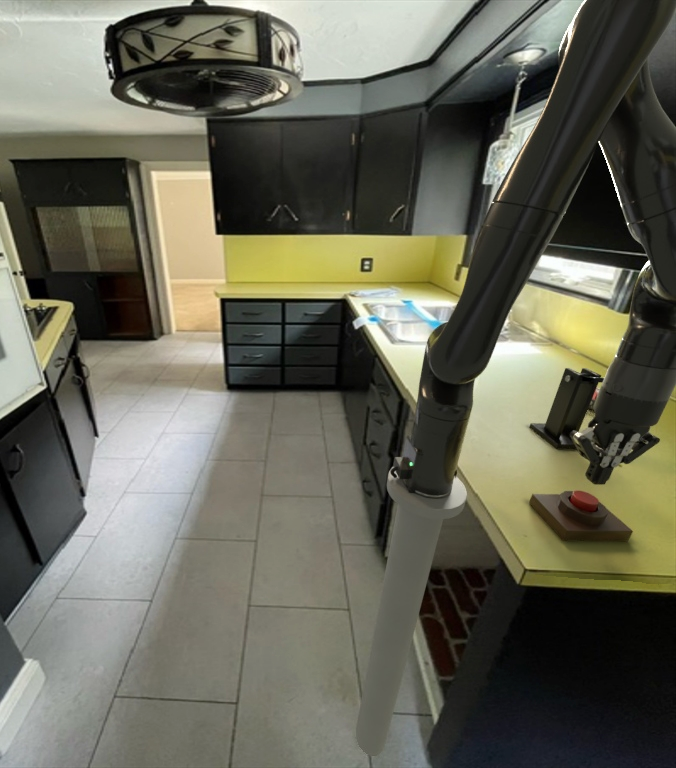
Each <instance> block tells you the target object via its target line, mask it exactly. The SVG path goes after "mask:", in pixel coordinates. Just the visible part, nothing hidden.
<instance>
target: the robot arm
mask: <svg viewBox="0 0 676 768" xmlns="http://www.w3.org/2000/svg"><path fill="white" fill-rule="evenodd" d="M675 14H676V0H584V1H583V2H582V3H581V4H580V6H579V8H578V10H577V12H576V13H575V15H574V17H573V18H572V20H571V23H570V24H569V25H568V28H567V30H566V31H565V34H564V35H563V38H562V41H561V43H560V46H559V49H558V50H559V51H558V55H557V60H558V61H557V64H558V71H557V74H556V76H555V78H554V79H555V80H554V82H553V85H552V86H551V90H550V92H549V94H548V97H547V99H546V102H545V104H544V106H543V109H542V111H541V113H540V115H539V116H538V119H537V121H536V123H535V124H534V127H533V128H532V129H531V132H530V133H529V134H528V137H527V138H526V140H525V141H524V143H523V145H522V146H521V148H520V149H519V151H518V152H517V154H516V156H515V158H514V160H513V161H512V163H511V165H510V166H509V168H508V170H507V172H506V174H505V175H504V177H503V179H502V181H501V183H500V185H499V187H498V189H497V191H496V193H495V195H494V196H493V198H492V202H491V203H490V206H489V208H488V210H487V212H486V213H485V217H484V219H483V221H482V222H481V223H482V224H481V226H480V229H479V231H478V233H477V236H476V239H475V243H474V245H473V249H472V252H471V256H470V260H469V264H468V267H467V272H466V276H465V281H464V285H463V287H462V291H461V293H460V296H459V298H458V301H457V302H456V305H455V307H454V310H453V311H452V313H451V315H450V316H449V319H448V321H446V322H442V323H441V324H439V325H438V326H437V327H436V328H434V329H433V330H432V331H431V333H430V334H429V336H428V338H427V341H426V345H425V348H424V353H423V360H422V365H421V371H420V376H419V383H418V392H417V400H416V407H415V410H414V411H415V412H414V417H413V421H412V427H411V433H410V435H407V436H406V437H405V440H404V441H405V442H404V448H403V453H402V456H394V459H393V465H392V467H394V468H392V467H391V468H392V469H391V468H390V470H391V471H390V470H389V471H390V473H391V475H392V476H393V477H394V478H396V477H397V475H398V477H399V479H402V480H403V483H404V484H405V486H406V488H407V490H408V492H409V493H415V494H418V495H420V496H423V497H426V498H432V499H440V498H444V497H447V496H448V495H449V494H450V493H451V490H452V484H453V480H454V476H455V479H456V477H457V476H458V475H457V474H458V470H457V469H458V468H457V467H458V464H459V461H460V457H461V452H462V449H463V445H464V441H465V437H466V433H467V430H468V426H469V422H470V418H471V414H472V411H473V407H474V388H475V382H476V379H477V378H478V377H480V376H481V375H482V373H483V372H484V371H485V370H486V369H487V367H488V365H489V363H490V361H491V358H492V356H493V353H494V350H495V348H496V346H497V343H498V341H499V338H500V336H501V333H502V331H503V328H504V326H505V323H506V320H507V319H508V316H509V314H510V313H511V310H512V308H513V306H514V305H515V302H516V301H517V299H518V298H519V296H520V295H521V293H522V291H523V289H524V288H525V286H526V285H527V282H528V281H529V280H530V277H531V276H532V274H533V273H534V270H535V268H536V267H537V265H538V263H539V261H540V260H541V257H542V256H543V254H544V252H545V250H546V249H547V248H548V246H549V244H550V242H551V240H552V239H553V237H554V235H555V233H556V231H557V230H558V228H559V225H560V223H561V222H562V220H563V218H564V217H563V216H565V214H566V212H567V210H568V208H569V206H570V204H571V202H572V200H573V197H574V196H575V194H576V191H577V189H578V187H579V186H580V184H581V181H582V179H583V177H584V175H585V173H586V171H587V169H588V168H589V164H590V162H591V160H592V158H593V156H594V154H595V152H596V149H597V146H598V144H599V146H600V148H601V150H602V153H603V155H604V158H605V160H606V163H607V166H608V169H609V172H610V174H611V178H612V181H613V184H614V187H615V191H616V193H617V197H618V201H619V203H620V207H621V210H622V213H623V216H624V219H625V222H626V226H627V228H628V231H629V233H630V234H631V236H632V238H633V239H634V240H635V241H637V242H638V243H639V244H641V246H642V248H643V249H644V251H645V254H646V256H647V259H648V261H647V262H646V263H645V264H644V266H643V267H642V269H641V271H640V272H639V274H638V277H637V279H636V281H635V285H634V287H633V292H632V296H631V303H630V308H629V316H628V322H627V323H628V324H627V327H626V329H625V331H624V333H623V335H622V338H621V341H620V343H619V346H618V348H617V351H616V353H615V355H614V358H613V359H612V361H611V363H610V364H609V366H608V368H607V370H606V373H605V375H604V377H603V378H604V380H603V383H601V385H600V387H599V389H600V390H599V393H598V395H597V398H596V400H595V403H594V405H593V408H594V410H593V411H594V416H593V417H592V418H591V420H589V422H588V423H587V427H586V428H584V429H582V430H581V431H579V432H577V431H572V432H571V433H570V437H571V439H572V440H573V442H574V444H575V446H576V448H577V449H576V450H577V452H578V453H579V455H580V456H581V457H582V458H584V459H585V460H587V461H588V462H589V464H588V467H587V469H586V471H585V477H586V479H587V480H588V481H589V482H590V483H591V484H593V485H595V486H596V485H597V486H599V485H600V486H605V485H606V484H607V482H608V481H609V480H610V478H611V476H612V474H613V471H614V469H615V468H617V467H618V466H619V465H620V464H624V465H629V464H631V463H632V462H634V461H635V460H637V459H638V458H639V457H641V456H642V455H644V454H645V453H647V452H648V451H649V450H650V449H652V448H653V447H655V446H656V445H658V444H659V443H660V442H661V438H659V437H657V436H656V435H654V434H652V433H651V432H650V429H651V427H654V426H656V425H657V424H658V423H659V421H660V419H661V417H662V415H663V413H664V411H665V408H666V407H667V404H668V402H669V400H670V399H671V396H672V394H673V393H674V391H675V388H676V126H675V123H673V121H672V120H671V119H670V118H669V116H668V115H667V113H666V112H665V110H664V109H663V107H662V105H661V103H660V101H659V98H658V97H657V94H656V92H655V89H654V85H653V82H652V78H651V73H650V63H649V61H650V60H649V57H650V55H651V54H652V52H653V51H654V49H655V48H656V45H657V44H658V43H659V41H660V40H661V38H662V37H663V35H664V34H665V32H666V30H667V29H668V28H669V26H670V24H671V22H672V20H673V18H674V16H675ZM395 471H396V473H397V475H396V474H395V473H394V472H395Z"/></svg>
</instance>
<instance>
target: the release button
mask: <svg viewBox="0 0 676 768" xmlns="http://www.w3.org/2000/svg"><path fill="white" fill-rule="evenodd" d="M573 491H574V492H573V494H572V496H571V498H570V503H572V504H573V505H574V506H575V507H577V508H579V509H581V510H584V511H588V512H594V511H595V510H596V508H597V506H598V504H599V502H600V500H599V498H597V497H596V496H595V495H593V494H592V493H590V492H587V491H584V490H573Z"/></svg>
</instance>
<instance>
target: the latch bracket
mask: <svg viewBox="0 0 676 768" xmlns="http://www.w3.org/2000/svg"><path fill="white" fill-rule="evenodd" d="M580 373H582V374H590V377H598V378H602V374H600V373H597V372H595V371H593V370H591V369H589V368H587V367H585V368H583V367H582V368H581V371H580V372H578V371H577V370H574V369H572V368H571V367H565V368H564V371H563V373H562V377H561V379H560V382H559V384H558V387H557V391H556V393H555V396H554V399H553V401H552V404H551V407H550V410H549V412H548V416H547V418H546V421H545V422H542V423H541V422H540V423H539V422H531V423H530V424H529V428H530V429H531V430H532V431H534V433H536V434H537V435H538V436H540V437H541V438H543V440H545V441H546V442H547V443H549V444H550V445H551V446H552V447H554V448H555V449H559V450H561V449H566V450H567V449H570V450H571V449H573V450H574V449H575V450H577V448H576V446H575V444H574V442H573V440H572V439H571V437H570V433H571V432H572V431H577V432H580V430H581V427H582V424H583V422H584V419H585V417H586V415H587V413H588V408H589V405H590V403H591V400H592V398H593V395H594V393H595V390H596V388H598V386H599V383H600V382H590V384H581V381H582V379H583V376H584V375H582V374H580Z"/></svg>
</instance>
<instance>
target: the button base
mask: <svg viewBox="0 0 676 768" xmlns="http://www.w3.org/2000/svg"><path fill="white" fill-rule="evenodd" d="M574 491H575V490H564V491H562V492H561V493H532V494H531V497H530V499H529V502H528V503H529V505H530V506H531V507H532V508H533V509H534V510H535V512H536V513H538V515H540V517H541V518H542V519H543V520H544V521H545V522H546V523H547V525H548V526H550V528H551V529H552V530H553V531H554V532H555V533H556V534H557V535H558V536H559V537H560V539H561V540H562V541H599V542H600V541H607V542H609V541H611V542H615V541H618V542H620V541H621V542H623V541H624V542H625V541H626V542H628V541H629V540H630V538H631V536H632V534H633V533H634V530H633V529H632V528H630V526H628V525H627V524H625V523H624V522H623V521H622V520H621V519H620V518H619V517H617V516H616V515H615V514H614V513H613V512H611V510H609V509H608V508H607V507H606V505H604V504H603V503H601V502H600V501H599V504H598V506H597V508H596V510H595V511H594V512H588V511H584V510H581V509H579V508H577V507H575V506H574V505H573V504H572V503H570V498H571V496H572V494H573V492H574Z"/></svg>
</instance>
